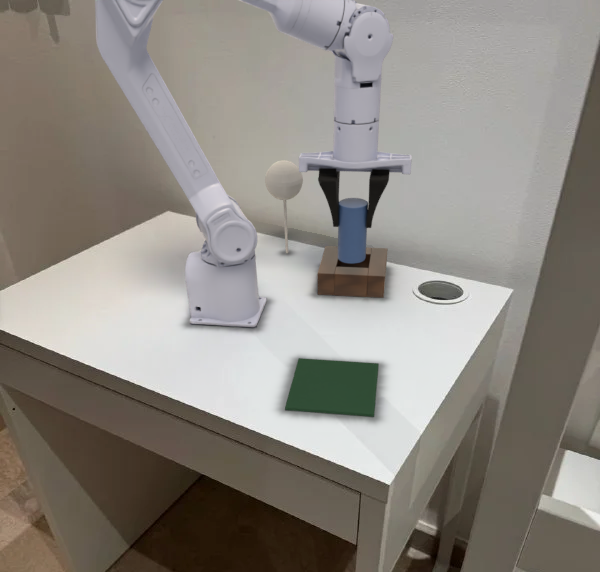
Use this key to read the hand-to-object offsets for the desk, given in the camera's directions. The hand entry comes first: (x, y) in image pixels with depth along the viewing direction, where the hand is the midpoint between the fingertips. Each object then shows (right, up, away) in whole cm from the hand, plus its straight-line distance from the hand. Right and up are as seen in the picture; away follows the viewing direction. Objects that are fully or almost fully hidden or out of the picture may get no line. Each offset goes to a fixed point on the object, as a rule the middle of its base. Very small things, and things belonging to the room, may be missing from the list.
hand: (352, 224), depth 82 cm
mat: (-3, -23, -12) cm, 26 cm away
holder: (+1, -6, +9) cm, 11 cm away
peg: (0, -4, +3) cm, 5 cm away
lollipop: (-10, 0, +18) cm, 21 cm away
